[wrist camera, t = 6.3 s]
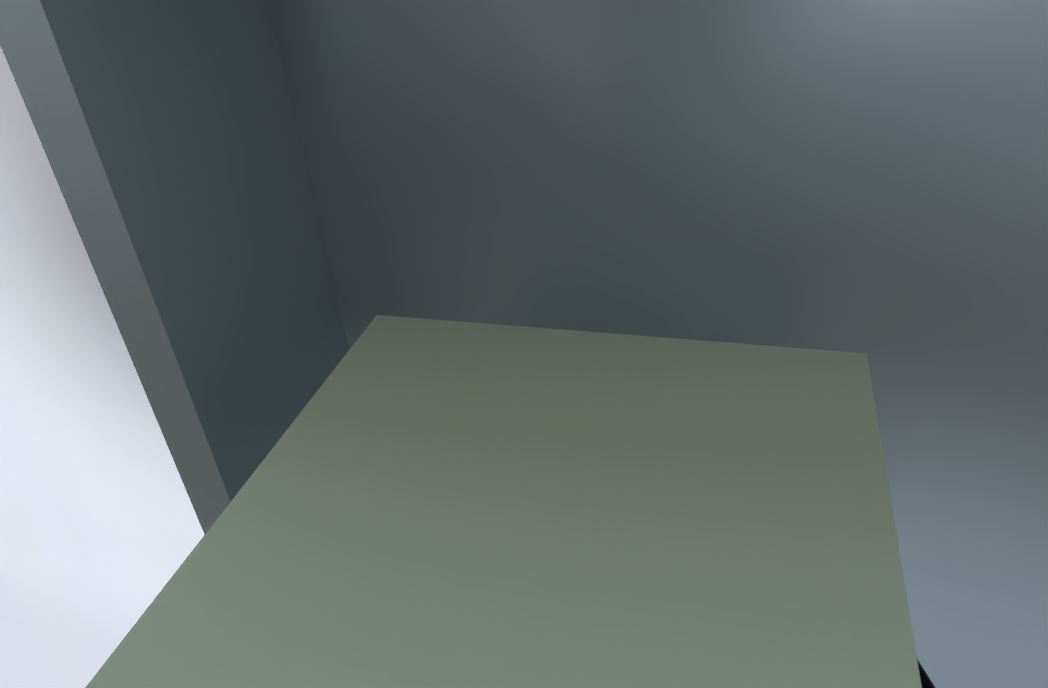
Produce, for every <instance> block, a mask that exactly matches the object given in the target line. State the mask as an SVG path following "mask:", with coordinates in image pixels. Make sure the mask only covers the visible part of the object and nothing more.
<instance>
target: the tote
mask: <svg viewBox="0 0 1048 688" xmlns="http://www.w3.org/2000/svg"><path fill="white" fill-rule="evenodd" d="M0 45H1V47H2V50H3V52H4V54H5V57H6V59H7V62H8V64H9V66H10V69H11V71H12V74H13V76H14V78H15V81H16V83H17V86H18V88H19V90H20V93H21V95H22V98H23V100H24V102H25V105H26V107H27V110H28V112H29V114H30V117H31V119H32V122H33V124H34V126H35V129H36V131H37V134H38V136H39V138H40V141H41V143H42V146H43V148H44V150H45V153H46V155H47V157H48V160H49V162H50V165H51V167H52V169H53V172H54V174H55V177H56V179H57V181H58V184H59V186H60V189H61V191H62V193H63V196H64V198H65V201H66V203H67V205H68V208H69V210H70V213H71V215H72V217H73V220H74V222H75V225H76V227H77V229H78V232H79V234H80V237H81V239H82V241H83V244H84V246H85V249H86V251H87V253H88V256H89V258H90V261H91V263H92V265H93V268H94V270H95V273H96V275H97V277H98V280H99V282H100V285H101V287H102V289H103V292H104V294H105V296H106V299H107V301H108V304H109V306H110V308H111V311H112V313H113V316H114V318H115V320H116V323H117V325H118V328H119V330H120V332H121V335H122V337H123V340H124V342H125V344H126V347H127V349H128V352H129V354H130V356H131V359H132V361H133V364H134V366H135V368H136V371H137V373H138V376H139V378H140V380H141V383H142V385H143V388H144V390H145V392H146V395H147V397H148V400H149V402H150V404H151V407H152V409H153V412H154V414H155V416H156V419H157V421H158V423H159V426H160V428H161V431H162V433H163V435H164V438H165V440H166V443H167V445H168V447H169V450H170V452H171V455H172V457H173V459H174V462H175V464H176V467H177V469H178V471H179V474H180V476H181V479H182V481H183V483H184V486H185V488H186V491H187V493H188V495H189V498H190V500H191V503H192V505H193V507H194V510H195V512H196V515H197V517H198V519H199V522H200V524H201V527H202V529H203V531H204V534H206V533H207V532H208V530H209V529H210V528H211V526H212V525H213V524H214V523H215V521H216V520H217V519H218V517H219V516H220V515H221V514H222V512H223V511H224V510H225V509H226V507H227V506H228V505H229V503H230V502H231V501H232V500H233V498H234V497H235V496H236V494H237V493H238V492H239V491H240V489H241V488H242V487H243V485H244V484H245V483H246V482H247V480H248V479H249V478H250V477H251V475H252V474H253V473H254V471H255V470H256V469H257V468H258V466H259V465H260V464H261V462H262V461H263V460H264V459H265V457H266V456H267V455H268V453H269V452H270V451H271V450H272V448H273V447H274V446H275V445H276V443H277V442H278V441H279V439H280V438H281V437H282V436H283V434H284V433H285V432H286V430H287V429H288V428H289V427H290V425H291V424H292V423H293V421H294V420H295V419H296V418H297V416H298V415H299V414H300V413H301V411H302V410H303V409H304V407H305V406H306V405H307V404H308V402H309V401H310V400H311V398H312V397H313V396H314V395H315V393H316V392H317V391H318V389H319V388H320V387H321V386H322V384H323V383H324V382H325V381H326V379H327V378H328V377H329V375H330V374H331V373H332V372H333V370H334V369H335V368H336V366H337V365H338V364H339V363H340V361H341V360H342V359H343V357H344V356H345V355H346V354H347V352H348V351H349V350H350V349H351V347H352V346H353V345H354V343H355V342H356V341H357V340H358V338H359V337H360V336H361V334H362V333H363V332H364V331H365V329H366V328H367V327H368V325H369V324H370V323H371V322H372V320H373V319H374V318H375V317H376V315H384V316H397V317H409V318H422V319H435V320H448V321H460V322H473V323H486V324H499V325H511V326H524V327H537V328H550V329H562V330H575V331H588V332H601V333H613V334H626V335H639V336H652V337H664V338H677V339H690V340H703V341H715V342H728V343H741V344H754V345H766V346H779V347H792V348H804V349H817V350H830V351H843V352H855V353H867V356H868V363H869V369H870V375H871V381H872V387H873V393H874V399H875V405H876V411H877V417H878V424H879V430H880V436H881V442H882V448H883V454H884V460H885V466H886V472H887V478H888V485H889V491H890V497H891V503H892V509H893V515H894V521H895V527H896V533H897V539H898V546H899V552H900V558H901V564H902V570H903V576H904V582H905V588H906V594H907V600H908V607H909V613H910V619H911V625H912V631H913V637H914V643H915V649H916V655H917V659H918V661H919V662H920V664H921V665H922V667H923V669H924V670H925V672H926V673H927V675H928V677H929V678H930V680H931V681H932V683H933V684H934V686H935V688H1048V0H0Z"/></svg>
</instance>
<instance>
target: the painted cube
mask: <svg viewBox="0 0 1048 688" xmlns="http://www.w3.org/2000/svg"><path fill="white" fill-rule="evenodd" d="M86 688H922V686H921V680H920V674H919V668H918V661H917V655H916V649H915V643H914V637H913V631H912V625H911V619H910V613H909V607H908V600H907V594H906V588H905V582H904V576H903V570H902V564H901V558H900V552H899V546H898V539H897V533H896V527H895V521H894V515H893V509H892V503H891V497H890V491H889V485H888V478H887V472H886V466H885V460H884V454H883V448H882V442H881V436H880V430H879V424H878V417H877V411H876V405H875V399H874V393H873V387H872V381H871V375H870V369H869V363H868V356H867V353H855V352H843V351H830V350H817V349H804V348H792V347H779V346H766V345H754V344H741V343H728V342H715V341H703V340H690V339H677V338H664V337H652V336H639V335H626V334H613V333H601V332H588V331H575V330H562V329H550V328H537V327H524V326H511V325H499V324H486V323H473V322H460V321H448V320H435V319H422V318H409V317H397V316H384V315H376V317H375V318H374V319H373V320H372V322H371V323H370V324H369V325H368V327H367V328H366V329H365V331H364V332H363V333H362V334H361V336H360V337H359V338H358V340H357V341H356V342H355V343H354V345H353V346H352V347H351V349H350V350H349V351H348V352H347V354H346V355H345V356H344V357H343V359H342V360H341V361H340V363H339V364H338V365H337V366H336V368H335V369H334V370H333V372H332V373H331V374H330V375H329V377H328V378H327V379H326V381H325V382H324V383H323V384H322V386H321V387H320V388H319V389H318V391H317V392H316V393H315V395H314V396H313V397H312V398H311V400H310V401H309V402H308V404H307V405H306V406H305V407H304V409H303V410H302V411H301V413H300V414H299V415H298V416H297V418H296V419H295V420H294V421H293V423H292V424H291V425H290V427H289V428H288V429H287V430H286V432H285V433H284V434H283V436H282V437H281V438H280V439H279V441H278V442H277V443H276V445H275V446H274V447H273V448H272V450H271V451H270V452H269V453H268V455H267V456H266V457H265V459H264V460H263V461H262V462H261V464H260V465H259V466H258V468H257V469H256V470H255V471H254V473H253V474H252V475H251V477H250V478H249V479H248V480H247V482H246V483H245V484H244V485H243V487H242V488H241V489H240V491H239V492H238V493H237V494H236V496H235V497H234V498H233V500H232V501H231V502H230V503H229V505H228V506H227V507H226V509H225V510H224V511H223V512H222V514H221V515H220V516H219V517H218V519H217V520H216V521H215V523H214V524H213V525H212V526H211V528H210V529H209V530H208V532H207V533H206V534H205V535H204V537H203V538H202V539H201V541H200V542H199V543H198V544H197V546H196V547H195V548H194V549H193V551H192V552H191V553H190V555H189V556H188V557H187V558H186V560H185V561H184V562H183V564H182V565H181V566H180V567H179V569H178V570H177V571H176V573H175V574H174V575H173V576H172V578H171V579H170V580H169V581H168V583H167V584H166V585H165V587H164V588H163V589H162V590H161V592H160V593H159V594H158V596H157V597H156V598H155V599H154V601H153V602H152V603H151V605H150V606H149V607H148V608H147V610H146V611H145V612H144V614H143V615H142V616H141V617H140V619H139V620H138V621H137V622H136V624H135V625H134V626H133V628H132V629H131V630H130V631H129V633H128V634H127V635H126V637H125V638H124V639H123V640H122V642H121V643H120V644H119V646H118V647H117V648H116V649H115V651H114V652H113V653H112V654H111V656H110V657H109V658H108V660H107V661H106V662H105V663H104V665H103V666H102V667H101V669H100V670H99V671H98V672H97V674H96V675H95V676H94V678H93V679H92V680H91V681H90V683H89V684H88V685H87V686H86Z"/></svg>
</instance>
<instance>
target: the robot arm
mask: <svg viewBox="0 0 1048 688" xmlns="http://www.w3.org/2000/svg"><path fill="white" fill-rule="evenodd" d="M917 661H918V659H917ZM918 668H919V674H920V680H921V686H922V688H935V686H934V684H933V683H932V681H931V680H930V678H929V677H928V675H927V673H926V672H925V670H924V669H923V667H922V665H921V664H920V662H919V661H918Z"/></svg>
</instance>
